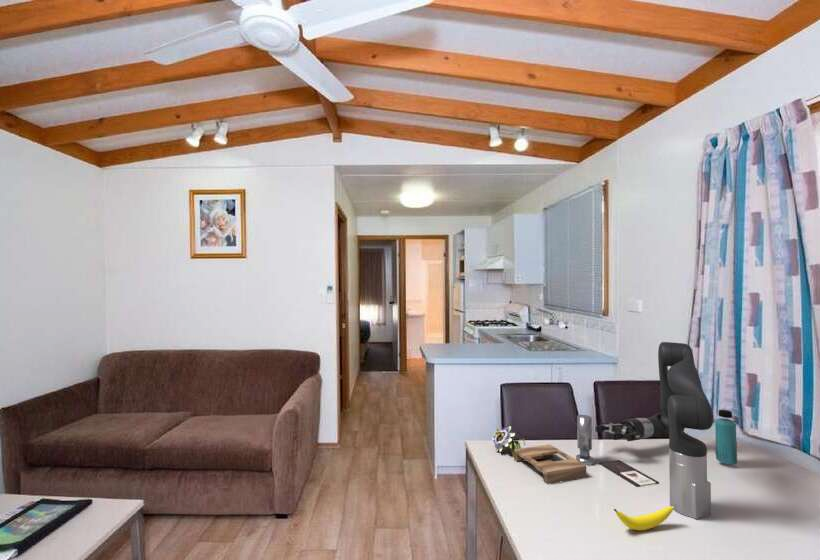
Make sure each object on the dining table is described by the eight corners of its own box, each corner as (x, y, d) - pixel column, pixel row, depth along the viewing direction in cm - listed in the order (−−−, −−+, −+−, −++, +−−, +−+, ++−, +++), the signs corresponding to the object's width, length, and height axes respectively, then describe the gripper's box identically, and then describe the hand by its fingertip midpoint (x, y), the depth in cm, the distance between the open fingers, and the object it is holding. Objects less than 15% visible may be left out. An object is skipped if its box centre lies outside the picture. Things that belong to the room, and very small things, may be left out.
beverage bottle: (742, 469, 147) (741, 413, 148) (723, 468, 148) (722, 413, 148) (728, 461, 154) (727, 408, 154) (710, 461, 154) (710, 407, 154)
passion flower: (498, 465, 163) (484, 436, 169) (519, 456, 167) (505, 427, 173) (510, 459, 154) (495, 428, 160) (532, 449, 158) (517, 419, 164)
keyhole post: (597, 464, 151) (596, 418, 151) (583, 466, 149) (583, 420, 150) (585, 458, 157) (585, 413, 157) (572, 460, 155) (572, 415, 155)
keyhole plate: (586, 477, 141) (586, 465, 141) (547, 484, 136) (547, 472, 136) (549, 454, 160) (549, 444, 160) (514, 460, 155) (514, 449, 155)
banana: (678, 527, 112) (678, 504, 112) (618, 536, 108) (618, 512, 108) (670, 521, 115) (669, 498, 115) (610, 530, 111) (610, 506, 111)
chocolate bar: (619, 459, 154) (659, 482, 137) (619, 462, 154) (659, 485, 137) (598, 462, 152) (636, 485, 134) (598, 465, 152) (636, 488, 134)
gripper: (622, 413, 168) (590, 417, 163) (653, 424, 154) (618, 429, 149) (623, 431, 168) (590, 436, 163) (653, 444, 154) (619, 449, 149)
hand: (604, 432), depth 156 cm, fingers open, 8 cm apart
